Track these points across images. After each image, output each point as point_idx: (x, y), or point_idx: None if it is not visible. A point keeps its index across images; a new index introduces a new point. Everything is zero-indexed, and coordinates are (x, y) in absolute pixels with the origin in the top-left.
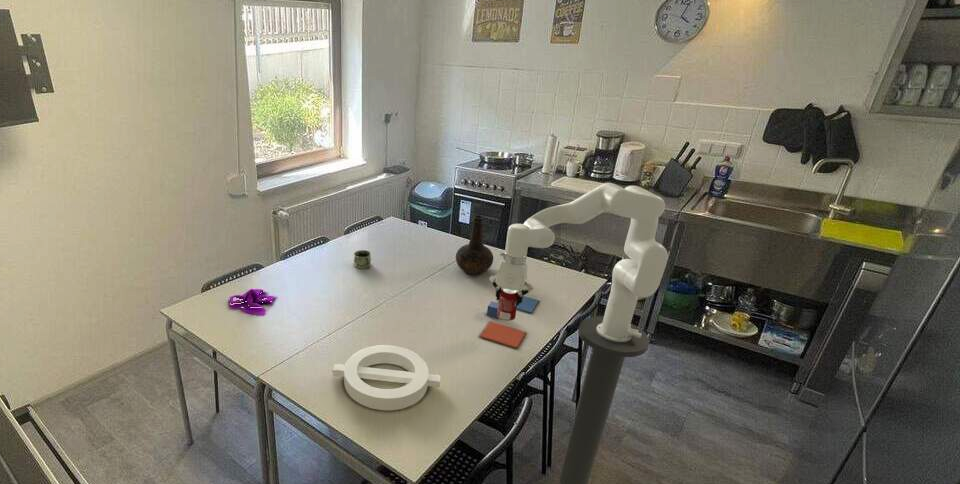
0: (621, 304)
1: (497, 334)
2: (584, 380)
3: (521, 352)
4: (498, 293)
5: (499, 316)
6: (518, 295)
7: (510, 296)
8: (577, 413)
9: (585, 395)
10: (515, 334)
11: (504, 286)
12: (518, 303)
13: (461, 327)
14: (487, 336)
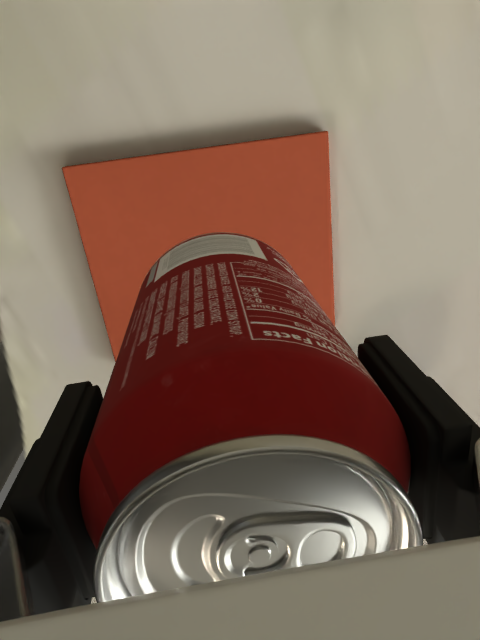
0: None
1: (240, 228)
2: (15, 419)
3: (13, 143)
4: (422, 400)
5: (257, 241)
6: (64, 532)
7: (165, 410)
8: None
9: (9, 384)
10: None
11: (425, 577)
12: (59, 410)
13: (475, 160)
14: (284, 158)
